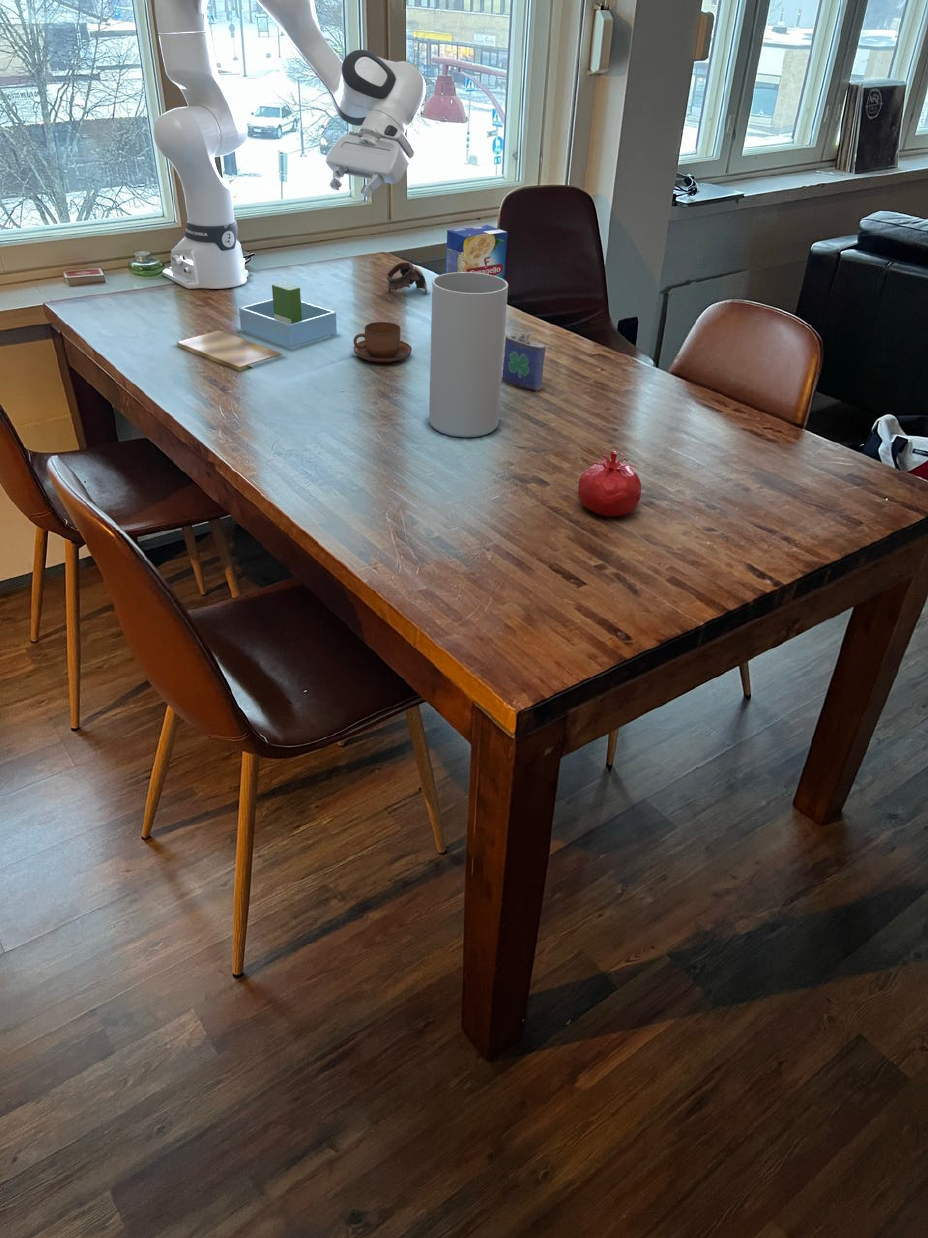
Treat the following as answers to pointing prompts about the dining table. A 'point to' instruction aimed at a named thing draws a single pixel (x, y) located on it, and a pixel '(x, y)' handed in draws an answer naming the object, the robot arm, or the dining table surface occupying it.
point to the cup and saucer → (381, 343)
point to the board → (227, 350)
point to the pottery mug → (406, 277)
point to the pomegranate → (610, 487)
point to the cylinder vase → (466, 352)
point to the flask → (523, 362)
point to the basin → (309, 329)
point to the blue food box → (476, 250)
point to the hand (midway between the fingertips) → (348, 191)
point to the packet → (286, 303)
